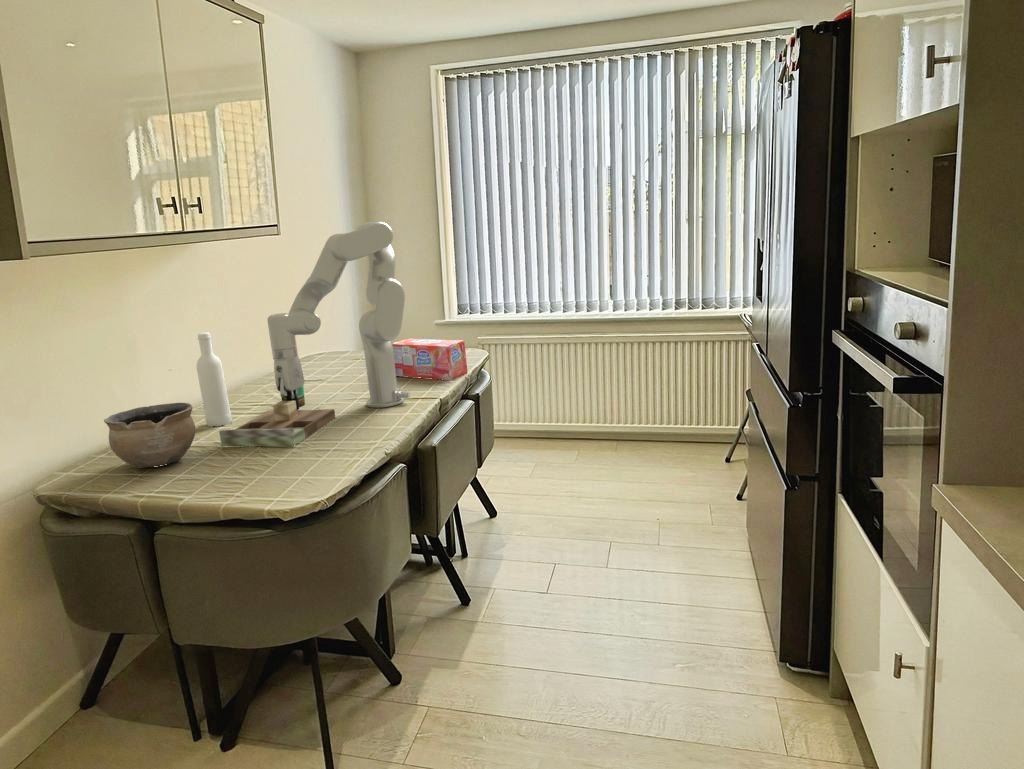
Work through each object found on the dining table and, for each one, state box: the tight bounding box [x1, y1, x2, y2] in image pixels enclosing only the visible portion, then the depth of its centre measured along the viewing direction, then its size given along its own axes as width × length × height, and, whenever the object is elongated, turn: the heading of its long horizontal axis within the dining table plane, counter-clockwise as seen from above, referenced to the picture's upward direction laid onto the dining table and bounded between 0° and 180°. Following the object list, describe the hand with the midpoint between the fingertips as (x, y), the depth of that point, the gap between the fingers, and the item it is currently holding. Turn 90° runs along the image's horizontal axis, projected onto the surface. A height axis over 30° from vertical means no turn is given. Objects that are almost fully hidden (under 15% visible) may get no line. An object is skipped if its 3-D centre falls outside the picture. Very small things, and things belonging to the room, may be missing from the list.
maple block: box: [272, 400, 298, 421], centre depth 234 cm, size 5×5×5 cm
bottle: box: [196, 331, 233, 427], centre depth 243 cm, size 8×8×30 cm
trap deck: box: [219, 408, 336, 448], centre depth 230 cm, size 23×28×5 cm
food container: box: [280, 378, 306, 408], centre depth 261 cm, size 12×6×10 cm, turn 168°
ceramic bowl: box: [103, 402, 196, 468], centre depth 208 cm, size 22×22×15 cm
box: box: [392, 338, 468, 381], centre depth 292 cm, size 27×13×14 cm, turn 60°
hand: (293, 410), depth 239 cm, fingers closed
